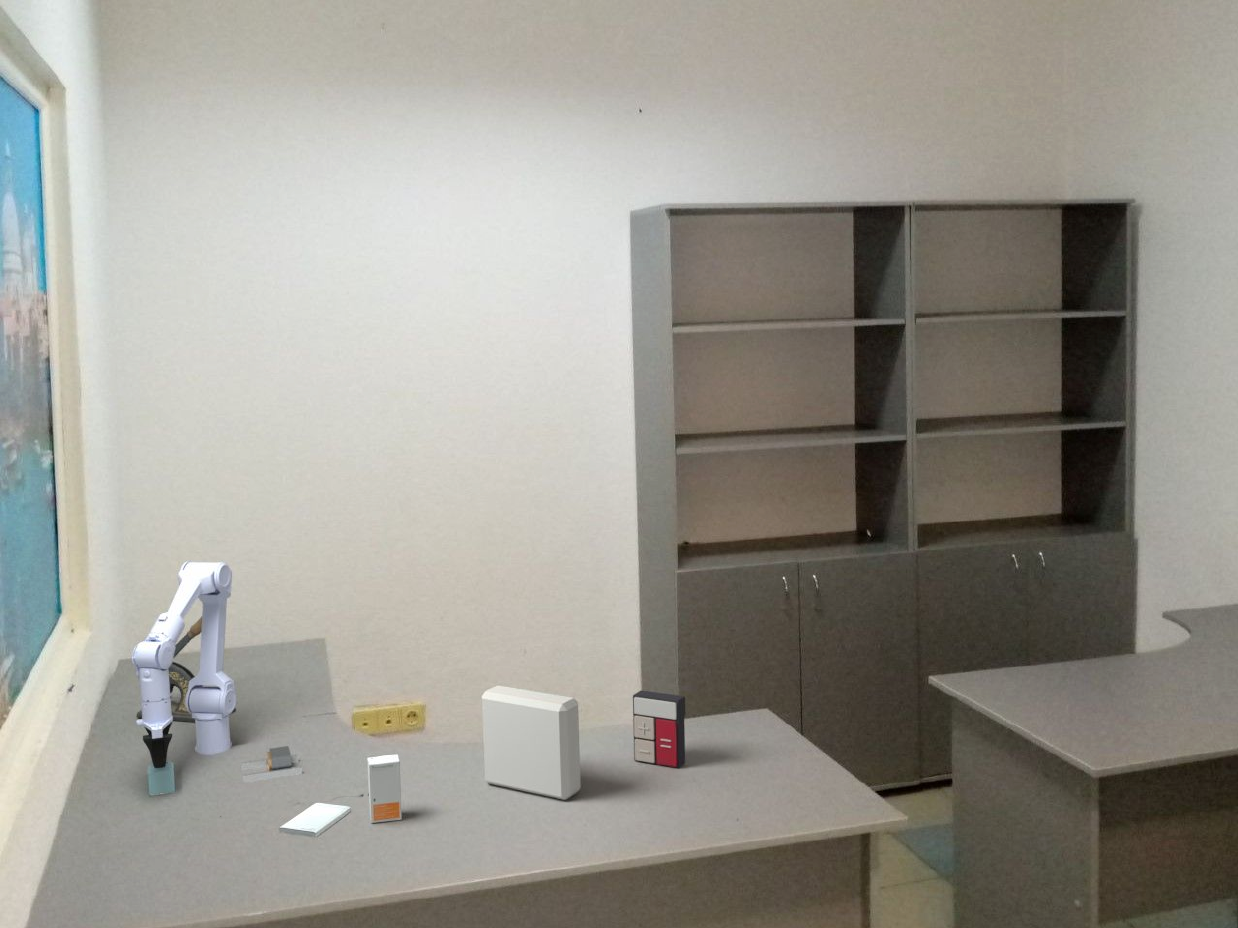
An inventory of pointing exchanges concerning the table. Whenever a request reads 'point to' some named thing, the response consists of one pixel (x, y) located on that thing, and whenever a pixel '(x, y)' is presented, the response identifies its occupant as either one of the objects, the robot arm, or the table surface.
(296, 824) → the hard drive
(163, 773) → the block
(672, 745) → the calculator
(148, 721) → the robot arm
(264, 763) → the frame
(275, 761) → the block
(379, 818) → the skincare box
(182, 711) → the embossing press
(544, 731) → the bevelled white case
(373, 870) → the table surface
